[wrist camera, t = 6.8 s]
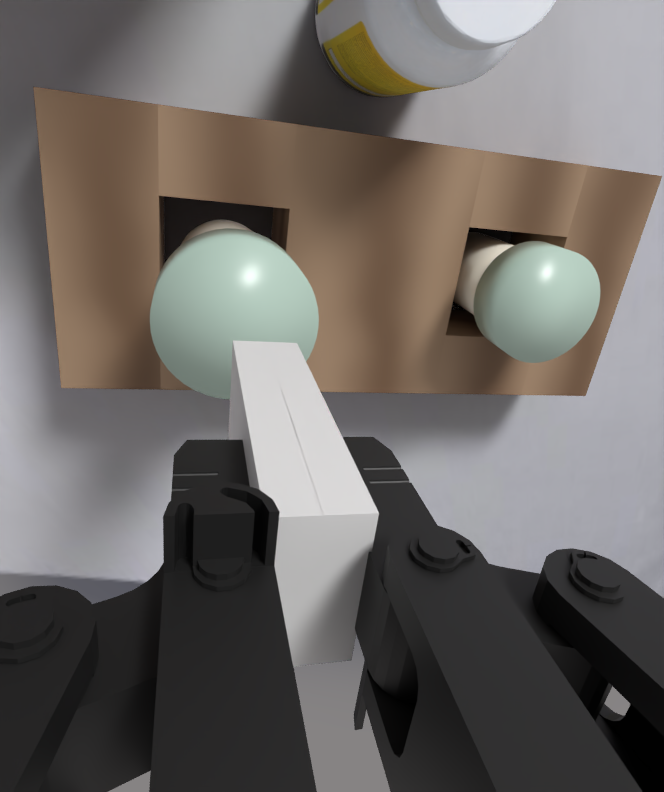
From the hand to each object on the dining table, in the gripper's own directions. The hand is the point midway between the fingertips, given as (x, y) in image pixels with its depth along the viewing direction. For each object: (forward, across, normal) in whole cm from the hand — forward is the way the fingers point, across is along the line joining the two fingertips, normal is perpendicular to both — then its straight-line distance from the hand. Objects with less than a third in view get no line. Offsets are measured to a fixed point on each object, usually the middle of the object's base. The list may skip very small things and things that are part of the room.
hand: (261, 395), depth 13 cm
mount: (+18, +7, 0) cm, 19 cm away
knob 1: (+13, 0, 0) cm, 13 cm away
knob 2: (+17, +14, 0) cm, 22 cm away
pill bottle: (+18, +7, +11) cm, 22 cm away
